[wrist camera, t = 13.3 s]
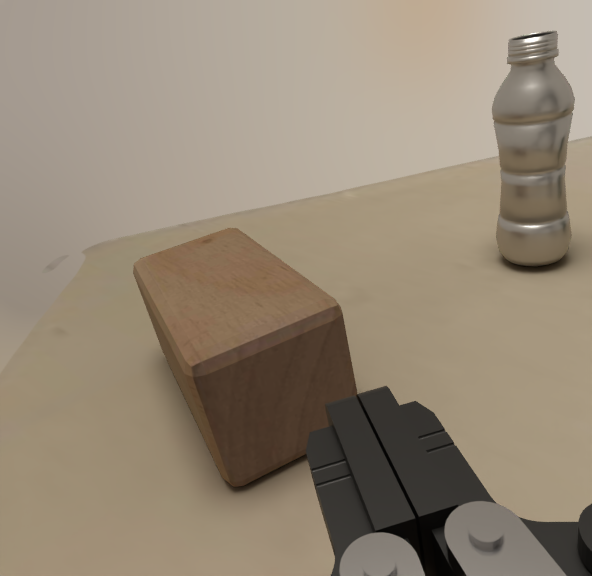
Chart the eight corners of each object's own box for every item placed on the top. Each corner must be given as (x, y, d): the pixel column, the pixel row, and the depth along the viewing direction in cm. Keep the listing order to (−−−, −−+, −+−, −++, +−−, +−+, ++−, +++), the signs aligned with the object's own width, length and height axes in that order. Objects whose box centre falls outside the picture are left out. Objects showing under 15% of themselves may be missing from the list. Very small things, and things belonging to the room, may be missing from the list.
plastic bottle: (527, 281, 47) (526, 43, 39) (482, 257, 53) (473, 45, 45) (587, 261, 49) (599, 24, 40) (537, 239, 55) (538, 29, 46)
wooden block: (346, 298, 31) (235, 221, 47) (183, 367, 28) (127, 258, 44) (369, 428, 35) (261, 315, 52) (231, 499, 32) (163, 355, 49)
